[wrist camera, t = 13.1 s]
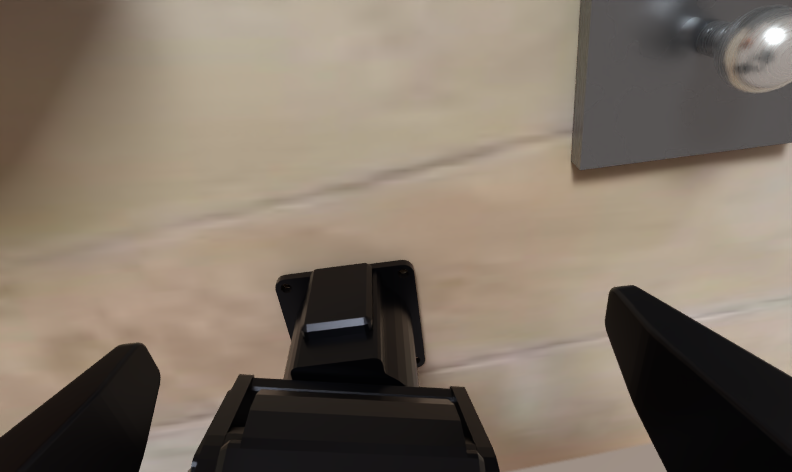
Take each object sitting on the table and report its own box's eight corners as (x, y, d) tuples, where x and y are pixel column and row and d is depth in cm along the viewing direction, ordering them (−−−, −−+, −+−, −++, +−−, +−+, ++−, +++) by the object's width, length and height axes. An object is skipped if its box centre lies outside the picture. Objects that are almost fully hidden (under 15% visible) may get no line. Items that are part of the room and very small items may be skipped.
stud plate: (784, 133, 21) (891, 179, 16) (571, 161, 21) (622, 213, 17) (859, -130, 16) (1034, -161, 12) (586, -91, 16) (661, -107, 12)
